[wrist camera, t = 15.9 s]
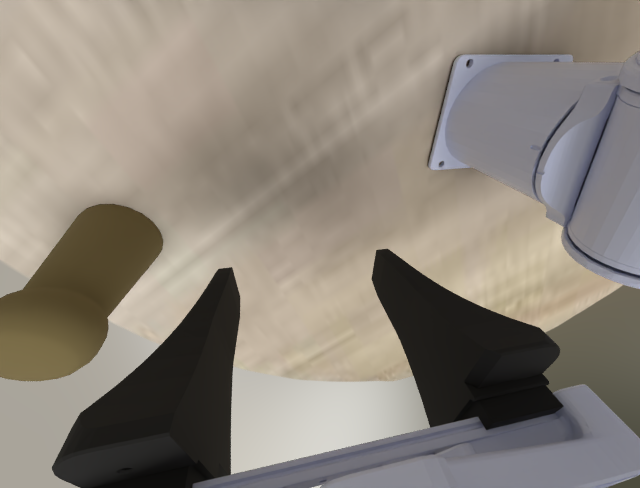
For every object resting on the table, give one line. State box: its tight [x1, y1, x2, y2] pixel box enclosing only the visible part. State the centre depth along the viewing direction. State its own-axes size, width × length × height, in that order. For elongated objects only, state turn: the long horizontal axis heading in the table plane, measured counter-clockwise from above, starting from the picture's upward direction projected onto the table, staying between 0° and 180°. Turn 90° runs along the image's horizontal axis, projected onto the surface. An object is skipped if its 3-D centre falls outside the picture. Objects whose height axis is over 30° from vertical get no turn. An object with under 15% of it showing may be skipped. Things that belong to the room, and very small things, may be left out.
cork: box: [0, 204, 163, 381], centre depth 16 cm, size 6×6×11 cm
